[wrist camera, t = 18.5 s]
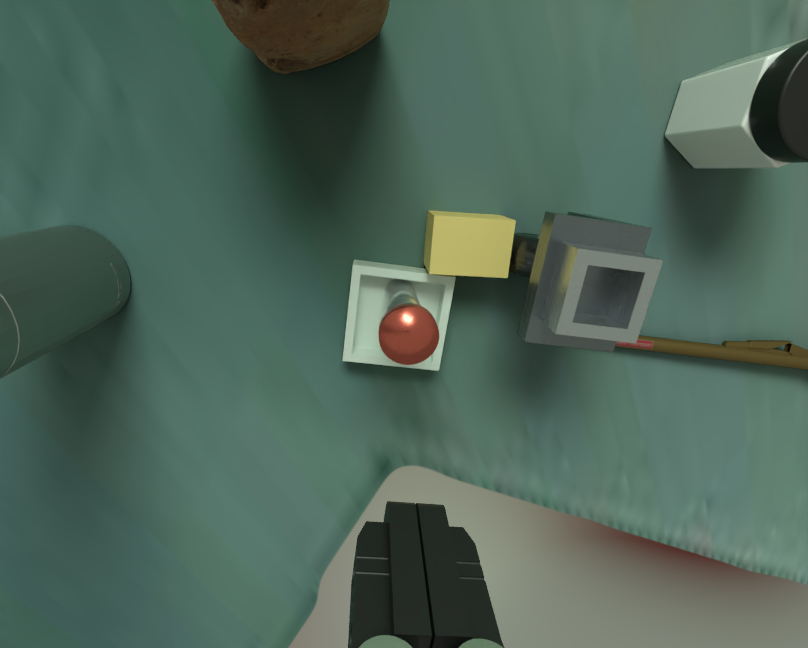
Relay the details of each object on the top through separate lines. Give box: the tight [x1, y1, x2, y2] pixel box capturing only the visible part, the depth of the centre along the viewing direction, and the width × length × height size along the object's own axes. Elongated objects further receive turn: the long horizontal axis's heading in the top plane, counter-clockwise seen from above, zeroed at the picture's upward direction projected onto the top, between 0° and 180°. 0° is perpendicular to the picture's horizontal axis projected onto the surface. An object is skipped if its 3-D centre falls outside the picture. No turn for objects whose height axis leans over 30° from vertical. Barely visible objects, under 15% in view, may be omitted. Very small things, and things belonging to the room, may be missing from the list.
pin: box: [378, 279, 439, 365], centre depth 38 cm, size 4×4×12 cm
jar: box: [665, 38, 808, 168], centre depth 35 cm, size 9×8×12 cm
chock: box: [424, 211, 516, 278], centre depth 41 cm, size 7×5×5 cm
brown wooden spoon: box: [615, 335, 808, 370], centre depth 48 cm, size 5×35×5 cm
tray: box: [343, 259, 456, 371], centre depth 44 cm, size 10×10×2 cm
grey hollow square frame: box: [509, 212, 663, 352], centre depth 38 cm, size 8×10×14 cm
